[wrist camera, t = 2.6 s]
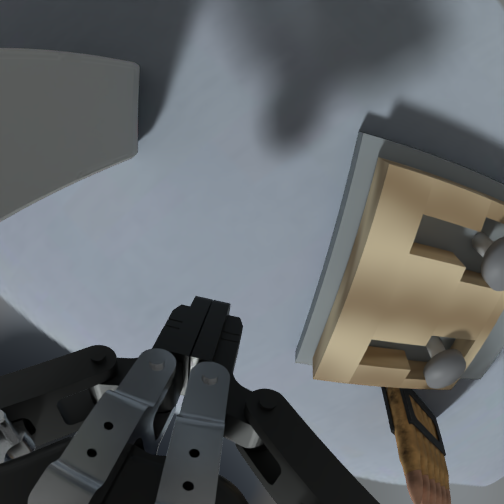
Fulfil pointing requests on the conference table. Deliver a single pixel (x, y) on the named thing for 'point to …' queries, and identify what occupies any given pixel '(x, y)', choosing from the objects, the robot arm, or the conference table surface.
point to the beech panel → (407, 283)
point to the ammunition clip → (418, 446)
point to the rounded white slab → (62, 121)
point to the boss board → (429, 233)
